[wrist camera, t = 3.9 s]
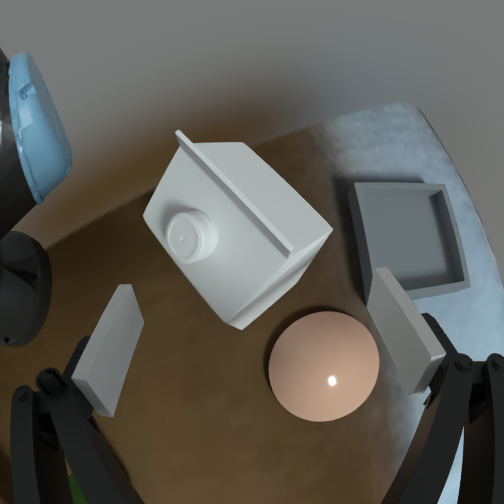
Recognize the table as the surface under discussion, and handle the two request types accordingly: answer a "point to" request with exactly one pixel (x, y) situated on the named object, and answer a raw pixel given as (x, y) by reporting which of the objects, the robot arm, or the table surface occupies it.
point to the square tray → (408, 237)
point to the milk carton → (233, 227)
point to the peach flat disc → (323, 366)
